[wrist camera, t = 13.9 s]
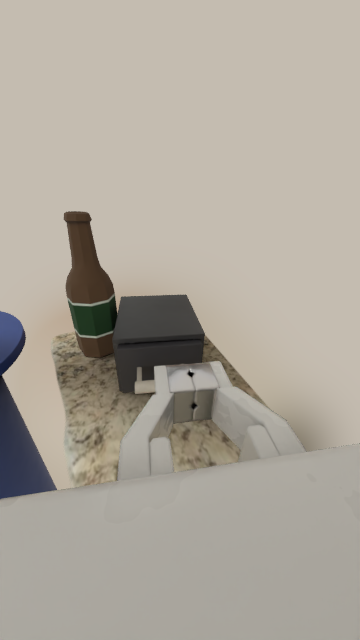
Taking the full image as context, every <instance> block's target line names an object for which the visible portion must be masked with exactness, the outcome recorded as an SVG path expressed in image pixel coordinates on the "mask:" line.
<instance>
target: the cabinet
mask: <svg viewBox="0 0 360 640" xmlns="http://www.w3.org/2000/svg"><path fill="white" fill-rule="evenodd" d="M204 336H205V333H204V331H203V329H202V327H201V325H200V323H199V321H198V318H197V316H196V314H195V312H194V310H193V308H192V306H191V304H190V302H189V299H188V298H187V295H163V296H131V297H121V301H120V305H119V310H118V315H117V319H116V324H115V329H114V334H113V338H112V341H113V348H114V354H115V361H116V368H117V375H118V382H119V389H120V391H122V384H121V377H120V370H119V362H118V355H117V346H118V345H122V344H124V343H138V342H154V341H169V340H185V339H193V340H201V343H202V352H201V362H200V363H202V357H203V347H204Z"/></svg>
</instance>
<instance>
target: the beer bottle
mask: <svg viewBox="0 0 360 640" xmlns="http://www.w3.org/2000/svg"><path fill="white" fill-rule="evenodd" d="M64 220H65V221H66V222H67V227H68V235H69V242H70V249H71V256H72V269H71V271H70V273H69V275H68V277H67V282H66V292H67V299H68V303H69V307H70V311H71V316H72V320H73V324H74V328H75V332H76V337H77V341H78V344H79V347H80V349H81V350H82V352H83V353H84V355H85V356H86V357H98V358H101V357H104V356H106V355H109V354H111V353H114V348H113V341H112V338H113V334H114V329H115V324H116V319H117V308H116V301H115V293H114V288H113V284H112V282H111V280H110V278H109V276H108V274H106V272H105V271H104V270H103V269H102V268H101V266H100V264H99V261H98V258H97V254H96V249H95V244H94V240H93V236H92V231H91V226H90V221H91V217H90V215H89V213H87V212H66V213H64Z"/></svg>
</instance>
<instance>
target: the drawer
mask: <svg viewBox="0 0 360 640" xmlns="http://www.w3.org/2000/svg"><path fill="white" fill-rule="evenodd" d="M201 352H202V343H201V340H193V339H185V340H169V341H154V342H138V343H124V344H122V345H118V346H117V355H118V362H119V370H120V377H121V384H122V392H123V393H127V392H135V394H141V393H152V392H155V383H154V366H164V365H165V366H166V365H178V364H193V363H200V362H201Z"/></svg>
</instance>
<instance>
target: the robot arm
mask: <svg viewBox="0 0 360 640" xmlns="http://www.w3.org/2000/svg"><path fill="white" fill-rule="evenodd" d="M154 383H155V395H152V397H151V398H150V399H149V401H148V402H147V404H146V405H145V407H144V408H143V410H142V411H141V412H140V414H139V415H138V417H137V418H136V420H135V421H134V423H133V424H132V425H131V427H130V428H129V430H128V431H127V433H126V434H125V436H124V437H123V439H122V440H121V443H120V454H119V466H118V477H117V481H114V482H107V483H101V484H94V485H88V486H82V487H75V488H69V489H63V490H56V491H49V492H43V493H36V494H30V495H23V496H17V497H11V498H4V499H0V640H360V443H359V444H353V445H346V446H341V447H333V448H328V449H321V450H315V451H308V452H307V451H306V450H305V448H304V446H303V445H302V443H301V442H300V440H299V439H298V437H297V436H296V434H295V433H294V431H293V430H292V428H291V426H290V425H289V424H288V422H287V420H285V419H284V418H282V417H280V416H279V415H278V414H276V413H275V412H273V411H272V410H270V409H269V408H267V407H266V406H264V405H263V404H261V403H260V402H258V401H257V400H256V399H254V398H253V397H251V396H250V395H248V394H247V393H245V392H244V391H242V390H241V389H239V388H238V387H233V386H232V384H231V382H230V380H229V378H228V376H227V374H226V372H225V370H224V368H223V366H222V364H221V362H220V361H213V362H204V363H193V364H178V365H166V366H165V365H164V366H154ZM209 419H212V421H213V422H214V423H215V424H216V425H217V426H218V427H219V428H220V429H221V430H222V431H223V432H224V433H225V434H226V435H227V436H228V437H229V438H230V439H231V441H232V442H233V443H234V444H235V445H236V446H237V447H238V448H239V449H240V450H241V453H240V456H239V459H238V462H237V463H230V464H224V465H217V466H211V467H204V468H198V469H191V470H185V471H178V472H174V467H173V459H172V451H171V444H170V439H168V436H169V434H170V431H171V429H172V427H173V424H176V423H182V422H189V421H198V420H209Z"/></svg>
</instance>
